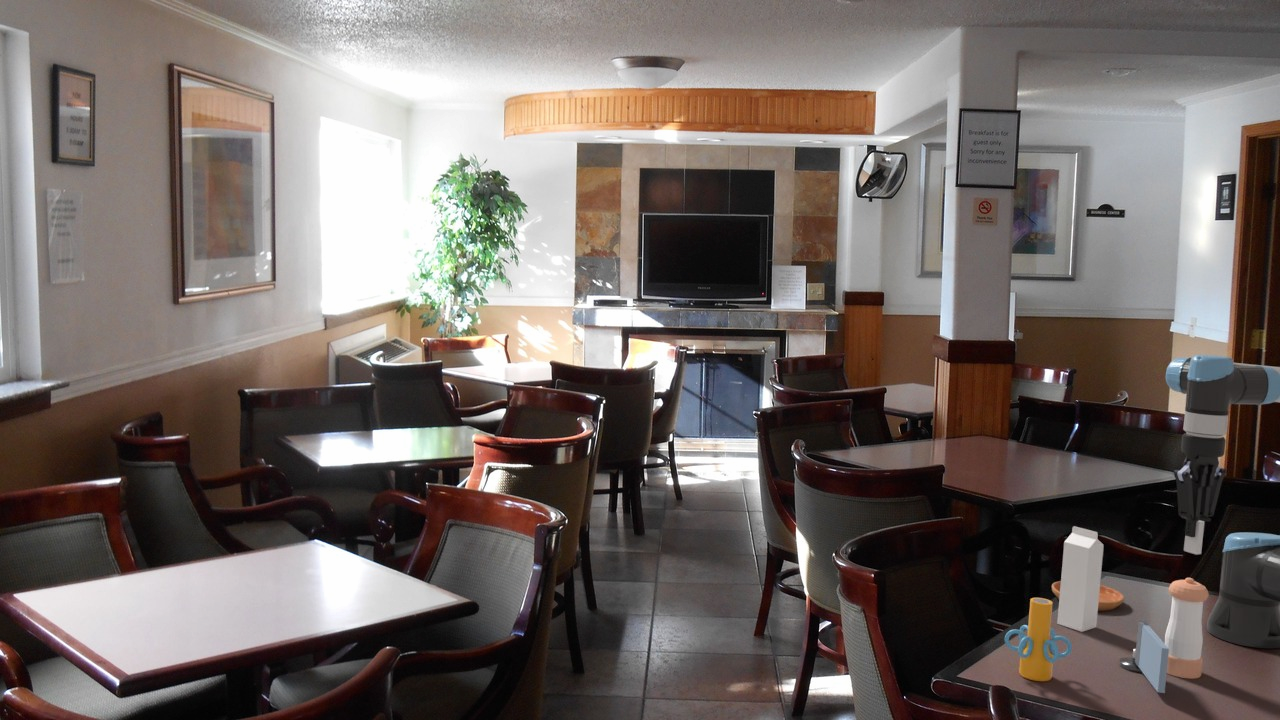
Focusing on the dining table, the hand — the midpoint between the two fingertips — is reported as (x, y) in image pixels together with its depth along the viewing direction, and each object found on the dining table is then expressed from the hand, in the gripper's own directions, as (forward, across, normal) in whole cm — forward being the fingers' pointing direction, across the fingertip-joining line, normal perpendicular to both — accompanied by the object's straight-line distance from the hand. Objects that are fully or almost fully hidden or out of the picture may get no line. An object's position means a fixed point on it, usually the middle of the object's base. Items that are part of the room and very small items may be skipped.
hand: (1192, 552), depth 209 cm
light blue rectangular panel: (+23, +12, +2) cm, 26 cm away
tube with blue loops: (+25, +30, -9) cm, 40 cm away
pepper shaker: (+25, 0, 0) cm, 25 cm away
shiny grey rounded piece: (+24, +7, -5) cm, 26 cm away
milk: (+25, -2, -27) cm, 36 cm away
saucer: (+25, -19, -38) cm, 49 cm away
